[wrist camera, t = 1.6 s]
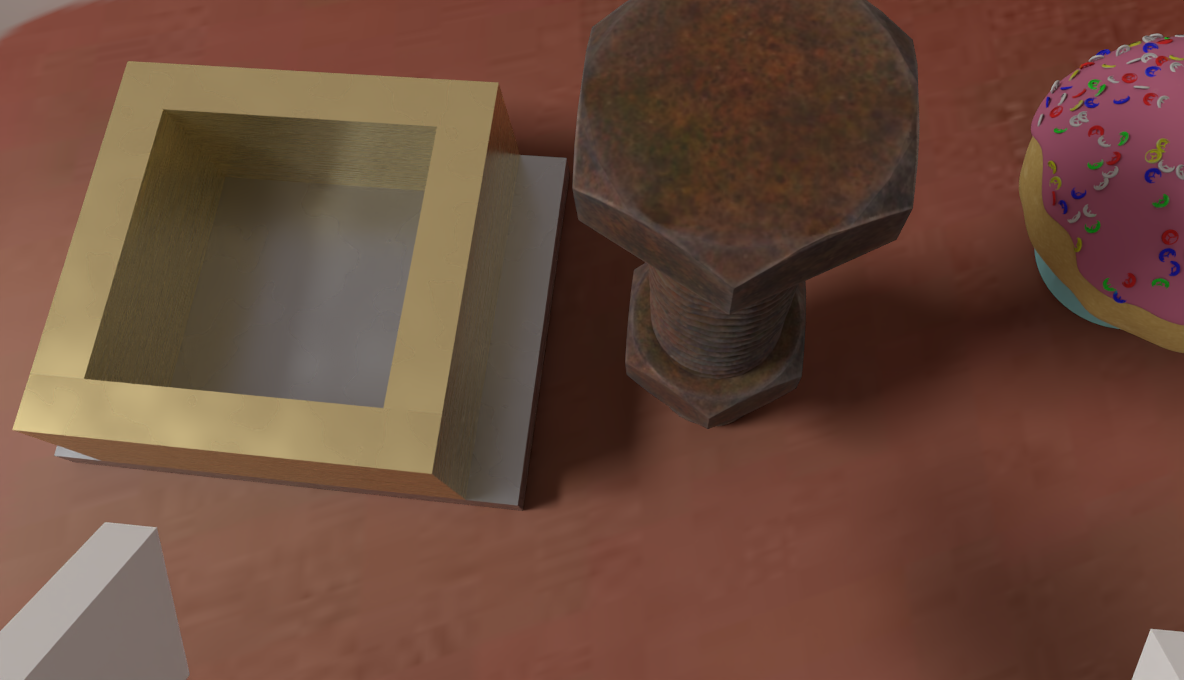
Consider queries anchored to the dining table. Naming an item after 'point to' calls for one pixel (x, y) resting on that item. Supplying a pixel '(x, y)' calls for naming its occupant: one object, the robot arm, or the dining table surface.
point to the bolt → (740, 178)
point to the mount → (306, 286)
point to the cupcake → (1113, 190)
